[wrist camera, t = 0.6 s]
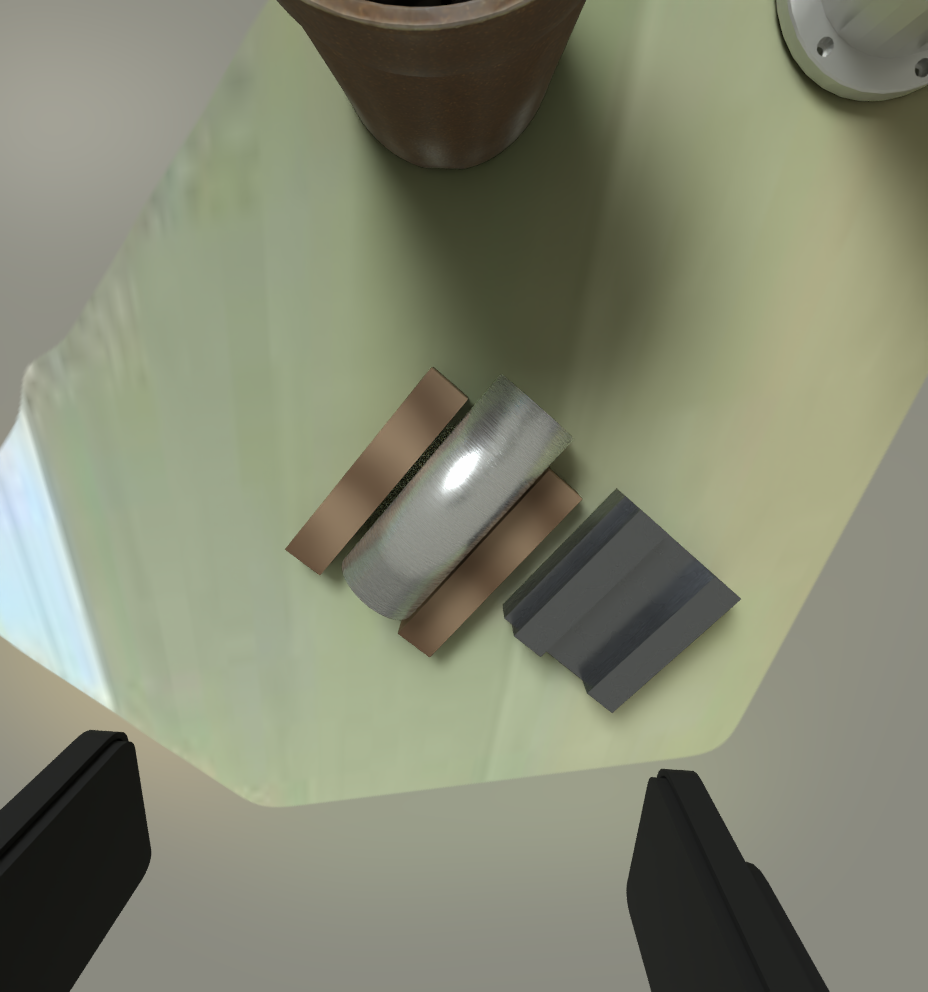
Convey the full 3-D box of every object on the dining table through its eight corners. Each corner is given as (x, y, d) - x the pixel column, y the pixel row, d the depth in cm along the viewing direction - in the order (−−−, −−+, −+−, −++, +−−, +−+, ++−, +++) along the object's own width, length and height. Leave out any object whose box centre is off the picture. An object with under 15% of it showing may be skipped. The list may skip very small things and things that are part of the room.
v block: (616, 488, 33) (632, 502, 30) (722, 582, 35) (748, 605, 32) (502, 604, 36) (505, 629, 33) (606, 687, 38) (619, 718, 34)
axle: (498, 373, 32) (504, 374, 26) (564, 431, 33) (583, 446, 27) (354, 543, 35) (330, 578, 29) (417, 591, 36) (406, 635, 30)
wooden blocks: (433, 367, 31) (431, 367, 29) (576, 491, 33) (582, 499, 32) (295, 539, 35) (284, 549, 33) (432, 642, 37) (429, 657, 35)
